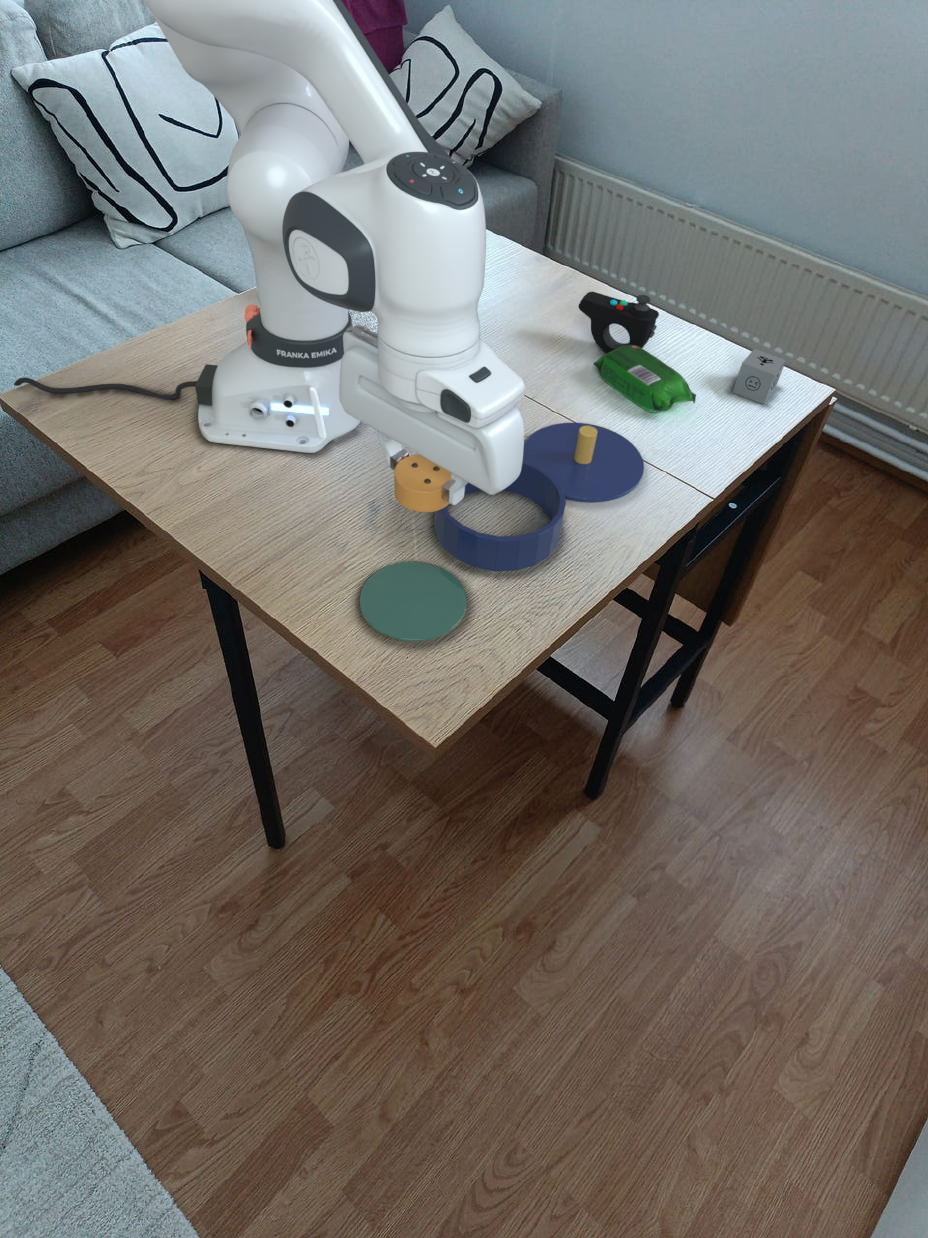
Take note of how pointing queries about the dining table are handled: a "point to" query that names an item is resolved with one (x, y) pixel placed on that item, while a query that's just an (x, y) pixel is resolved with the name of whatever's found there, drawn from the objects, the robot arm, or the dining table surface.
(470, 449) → the robot arm
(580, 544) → the dining table surface
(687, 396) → the snack package
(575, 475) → the tin lid
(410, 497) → the cookie
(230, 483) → the dining table surface
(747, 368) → the dice cube
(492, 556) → the cookie tin
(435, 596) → the plate
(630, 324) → the controller
